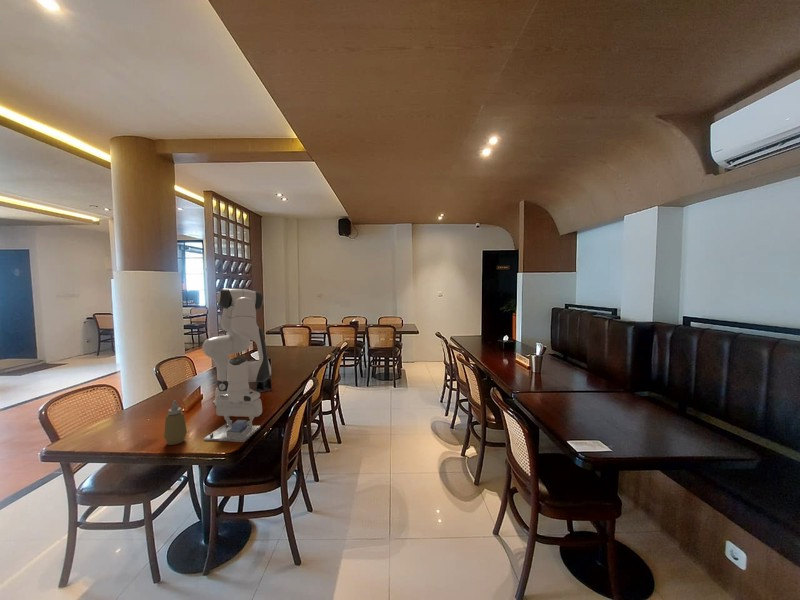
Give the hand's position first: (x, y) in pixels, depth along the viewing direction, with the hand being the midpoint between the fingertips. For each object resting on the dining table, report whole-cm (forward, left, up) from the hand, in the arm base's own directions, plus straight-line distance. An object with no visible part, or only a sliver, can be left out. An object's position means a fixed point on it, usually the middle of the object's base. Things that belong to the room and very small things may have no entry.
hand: (239, 425), depth 148 cm
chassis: (0, -3, -4) cm, 5 cm away
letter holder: (-65, -25, -4) cm, 70 cm away
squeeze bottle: (+10, -23, -4) cm, 25 cm away
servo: (0, 0, -3) cm, 3 cm away
